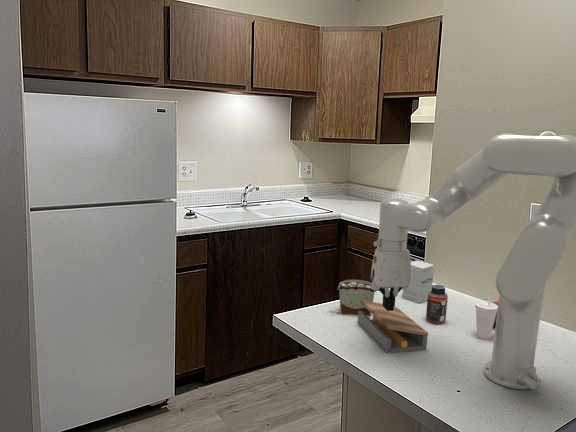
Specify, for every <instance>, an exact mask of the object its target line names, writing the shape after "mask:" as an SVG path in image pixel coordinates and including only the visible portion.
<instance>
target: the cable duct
mask: <svg viewBox="0 0 576 432" xmlns="http://www.w3.org/2000/svg"><path fill="white" fill-rule="evenodd" d="M357 325H358V326H359V327H360V328H361V329H362V330H363V331H364V332H365V333H366V334H367V336H369V337H370V338H371V339H372V341H374V342H375V344H377V346H378V347H380V349H381V350H382V351H383V352H384V353H385V354H395V353H403V352H414V351H421V350H422V351H423V350H427V346H428V336H427V335H421V334H415V333H408V332H402V331H396V330H390V329H388V328H387V327H386V326H385V325H384V324H383V323H382V322H381V321H380V320H379V319H378V318H377V317H375V316H374V315H373V314H372V318H370V316H367V315H365V314H364V313H363V312H362V311H358V316H357Z"/></svg>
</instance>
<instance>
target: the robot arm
mask: <svg viewBox="0 0 576 432" xmlns="http://www.w3.org/2000/svg"><path fill="white" fill-rule="evenodd" d="M508 175H520V176H521V175H523V176H538V177H539V176H540V177H549V178H550V177H553V179H552V183H551V185H550V186H549V189H548V190H547V192H546V194H545V196H544V198H543V200H542V202H541V203H540V205H539V207H538V208H537V210H536V212H535V213H534V215H533V216H532V217H531V218H530V219H529V221H528V222H526V225H524V227H523V228H522V230H521V231H520V233H519V235H518V236H517V238H516V240H515V242H514V244H513V245H512V247H511V248H510V251H509V252H508V254H507V256H506V258H505V259H504V261H503V263H502V265H501V266H500V268H499V270H498V272H497V274H496V276H495V287H496V290H497V292H498V293H499V294H498V295H499V296H498V301H499V302H498V310H497V317H496V325H494V326H495V328H494V333H493V334H494V336H493V345H492V352H491V354H492V355H491V359H490V361H488V362H486V363H485V364H484V366H483V373H484V375H485V376H486V378H488V379H489V380H490V381H492V382H494V383H495V384H498V385H500V386H502V387H506V388H509V389H515V390H528V389H529V390H530V389H531V390H536V389H537V388H538V385H541V384H542V383H543V380H542V378H540V377H539V375H538V374H537V367H535V366H534V365H535V359H536V351H537V343H538V337H539V336H538V335H539V327H540V322H541V315H542V309H543V299H544V295H545V290H546V284H547V283H548V281H549V280H550V278H551V276H552V275H553V274H554V271H555V270H556V269H557V267H558V265H559V263H561V261H562V258H563V257H564V256H565V253H566V252H567V249H568V246H569V242H570V239H571V236H572V234H573V232H574V229H575V228H576V136H574V135H571V134H561V135H560V134H559V135H522V134H515V133H513V132H505V133H500V134H497V135H494V136H493V137H491V138H490V139H489V140H487V142H486V143H485V144H484V146H483V147H482V148H480V150H478V151H477V152H476V153H475V154H473V155H472V156H471V157H470V158H468V159H467V160H465V161H464V162H463V163H462V164H460V165H459V166H458V167H457V168H455V169H454V170H453V172H452V173H451V174H450V177H449V178H448V179H447V180H446V181H445V182H444V183H443V184H442V185H440V186H439V187H438V188H437V189H436V190H434V191H433V192H432V193H431V194H429V195H428V196H427V197H425V198H423V199H422V200H419V201H417V202H414V203H409V201H407V200H404V199H401V198H385V199H383V200H381V202H380V207H379V209H380V210H379V224H378V237H377V240H376V241H373V246H374V247H377V248H375V251H374V255H373V259H372V264H371V271H370V281H371V283H372V285H371V289H373V290H375V291H376V292H380V293H381V295H382V304H383V307H384V308H385V309H386V310H387V311H390V310H391V311H393V310H394V306H395V305H396V297H397V296H398V294H399V293H400V292H401V291H403V289H405V288H408V286H409V284H410V282H411V262H412V261H411V252H410V250H409V249H407V248H408V247H407V243H408V232H409V231H411V232H415V233H419V234H420V233H426V232H427V231H429V230H431V229H432V228H433V227H435V226H437V225H439V224H440V223H441V222H442V221H444V220H446V219H447V218H448V217H449V216H450V215H452V214H453V213H455V212H456V211H457V210H459V209H461V208H462V207H463V206H464V205H466V204H467V203H469V202H471V201H473V200H475V199H476V198H478V197H479V196H480V195H482V194H483V193H485V192H486V191H487V190H489V188H492V187H493V186H494V185H496V184H497V183H498V182H500V181H501V180H502V179H503V178H505V177H507V176H508Z"/></svg>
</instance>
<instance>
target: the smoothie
mask: <svg viewBox="0 0 576 432" xmlns="http://www.w3.org/2000/svg"><path fill="white" fill-rule="evenodd" d="M491 298H492V290H489V291H488V301H485V300H482V301H476V302H475V305H474V308H475V310H476V311H475V319H476V321H475V322H476V323H475V324H476V337H478V338H479V339H484V340H489V339H491V335H492V332H493V328H494V326H495V325H494V321H495V317H496V313H497V310H498V305H496V304H494V303H492V302H491V301H492V299H491Z"/></svg>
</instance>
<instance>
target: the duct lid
mask: <svg viewBox="0 0 576 432" xmlns="http://www.w3.org/2000/svg"><path fill="white" fill-rule="evenodd" d="M360 303H361V304H362V305H363V306H365V307H366V308H367V309H368V310H369V311H370V312H371V314H372V316H373V315H374V316H375V317H377V318H378V319H379V320H380V321H381V322H382V323H383V324H384V325H385V326H386V327H387V328H388V329H390V330H396V331H402V332H408V333H415V334H421V335H427V337H428V335H429V332H428V331H426V330H425V328H424V327H422V326H420V325H419V324H418V323H417V322H416V321H414V320H413V319H412V318H410V317H409V316H408V315H407V314H405V312H403V311H402V310H400V308H398V307H396V306H394V310H393V311H391V310H390V311H387V310H386V309H385V308H384V307H383V303H381V302H376V301H375V302H374V301H373V302H371V301H365V300H360Z"/></svg>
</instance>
